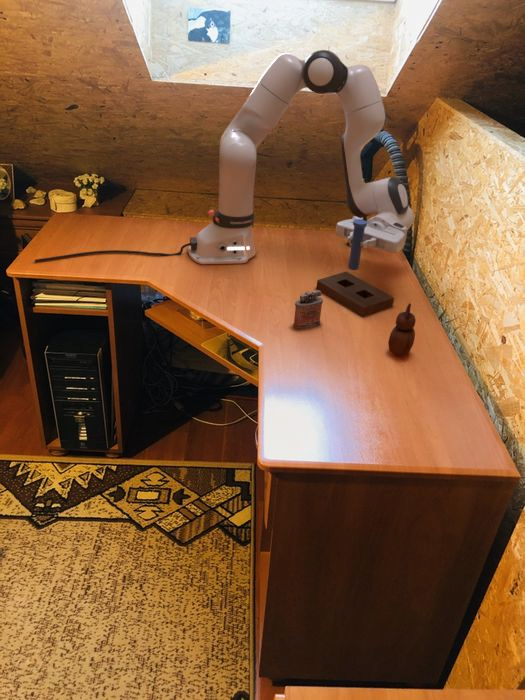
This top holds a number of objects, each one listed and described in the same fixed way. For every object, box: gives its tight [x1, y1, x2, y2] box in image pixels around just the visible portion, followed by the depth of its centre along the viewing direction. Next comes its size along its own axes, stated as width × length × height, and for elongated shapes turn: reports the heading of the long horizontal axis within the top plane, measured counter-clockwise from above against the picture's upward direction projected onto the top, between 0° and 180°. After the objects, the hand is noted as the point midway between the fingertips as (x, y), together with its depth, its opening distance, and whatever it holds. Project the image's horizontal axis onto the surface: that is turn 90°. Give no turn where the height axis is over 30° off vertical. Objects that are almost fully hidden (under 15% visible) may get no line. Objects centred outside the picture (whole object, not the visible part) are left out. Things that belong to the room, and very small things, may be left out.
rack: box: [316, 271, 395, 318], centre depth 169 cm, size 12×20×3 cm, turn 36°
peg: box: [347, 219, 368, 271], centre depth 163 cm, size 4×4×14 cm
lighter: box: [292, 290, 324, 331], centre depth 152 cm, size 8×3×10 cm, turn 118°
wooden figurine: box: [387, 302, 417, 358], centre depth 142 cm, size 7×6×15 cm
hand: (355, 242), depth 162 cm, fingers closed on peg, 3 cm apart
